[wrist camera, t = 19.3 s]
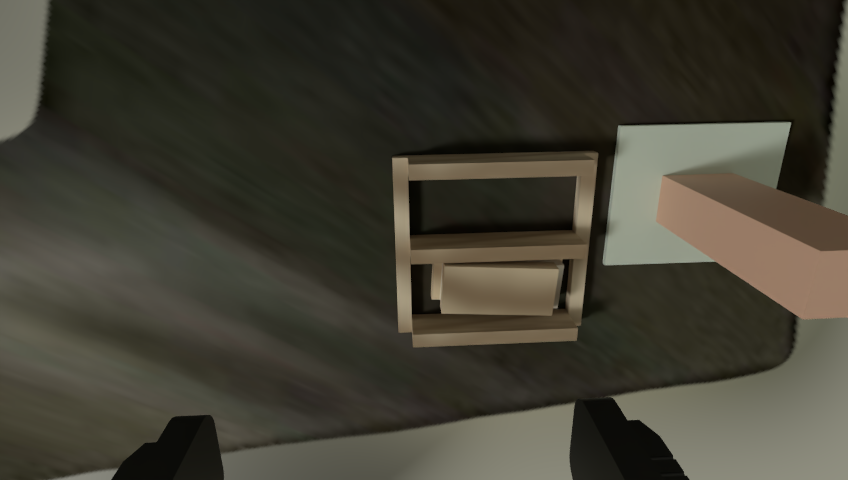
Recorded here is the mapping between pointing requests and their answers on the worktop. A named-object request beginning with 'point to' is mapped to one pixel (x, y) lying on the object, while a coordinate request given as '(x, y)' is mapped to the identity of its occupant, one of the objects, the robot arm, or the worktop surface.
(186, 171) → the worktop surface
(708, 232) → the peach upright pillar
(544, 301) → the plywood offcut stack
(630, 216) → the sage mat
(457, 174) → the birch rack
